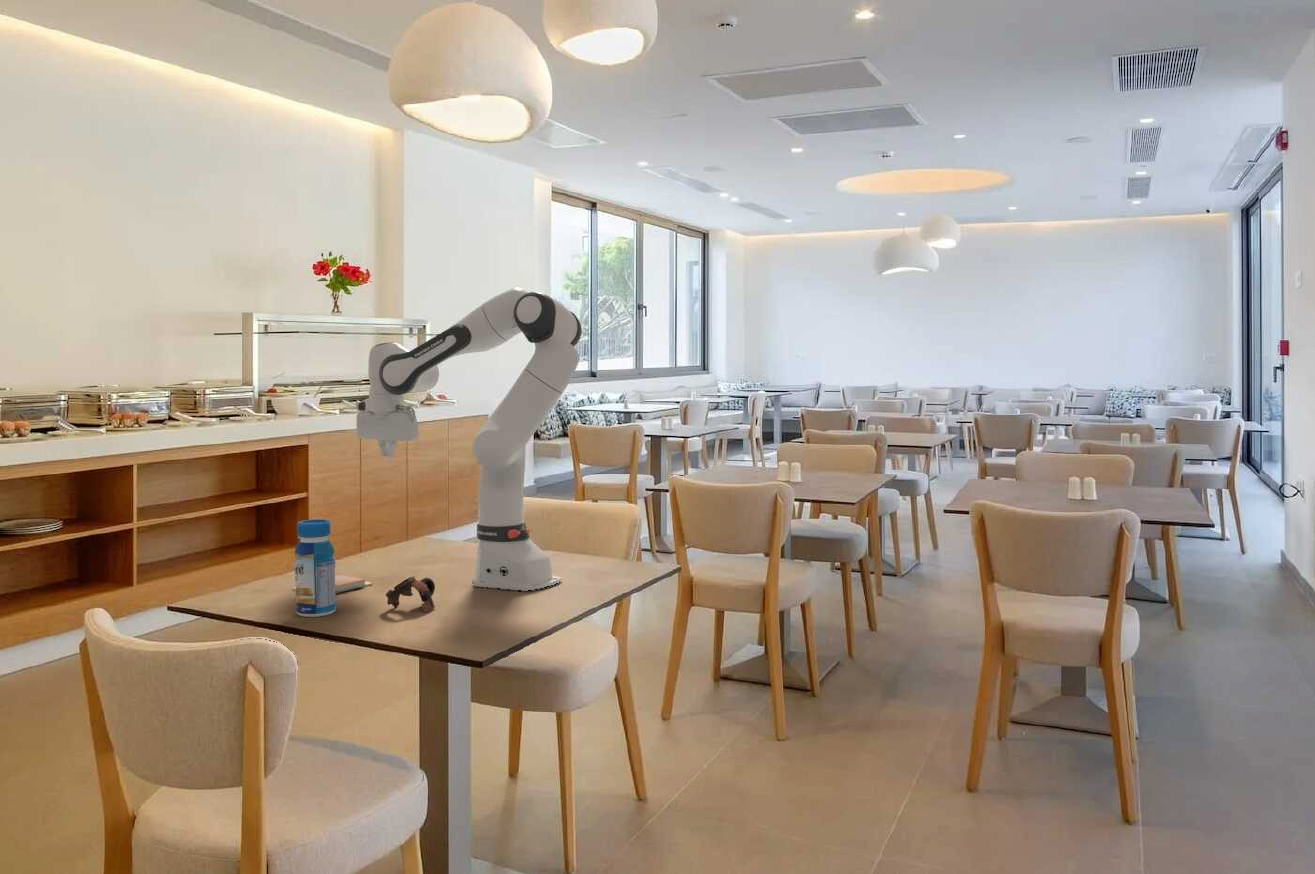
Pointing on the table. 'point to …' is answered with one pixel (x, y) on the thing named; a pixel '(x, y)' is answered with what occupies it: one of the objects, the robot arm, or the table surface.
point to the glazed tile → (347, 583)
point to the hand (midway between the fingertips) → (388, 457)
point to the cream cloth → (350, 589)
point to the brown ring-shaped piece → (405, 590)
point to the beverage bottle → (314, 569)
